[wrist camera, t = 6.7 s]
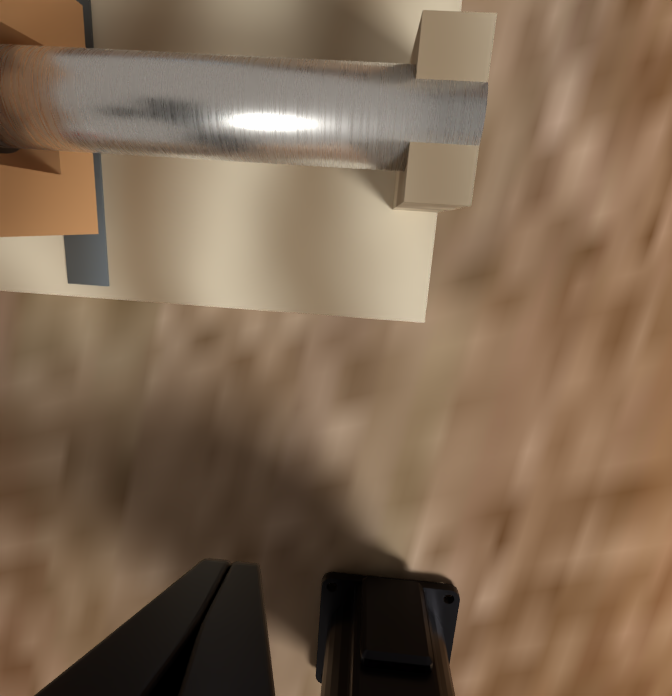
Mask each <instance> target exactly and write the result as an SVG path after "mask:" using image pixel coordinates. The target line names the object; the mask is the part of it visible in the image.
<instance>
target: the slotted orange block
mask: <svg viewBox="0 0 672 696" xmlns="http://www.w3.org/2000/svg"><path fill="white" fill-rule="evenodd" d="M0 44H16V45H37V46H57V47H78V48H86V47H85V33H84V19H83V5H81V4H80V3H79V2H78V1H76V0H0ZM84 234H99V233H98V219H97V205H96V190H95V176H94V162H93V153H87V152H70V151H54V150H37V149H20V150H18V151H16V152H13V153H7V154H5V153H0V237H20V236H52V235H84Z"/></svg>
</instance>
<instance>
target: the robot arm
mask: <svg viewBox="0 0 672 696" xmlns="http://www.w3.org/2000/svg"><path fill="white" fill-rule="evenodd" d="M329 583H335V584H336V585H330V584H329ZM446 595H452V596H450V597H445V596H446ZM459 602H460V598H459V593H458V590H457V588H456V587H455V586H453V585H450V584H443V583H434V582H424V581H414V580H404V579H395V578H385V577H375V576H365V575H355V574H346V573H336V572H330V573H327V574H326V575H325V576H324V577H323V581H322V591H321V606H320V621H319V635H318V650H317V665H316V679H317V681H318V682H320V683H321V684H322V686H321V696H455V693H454V688H453V682H452V677H451V672H450V666H449V663H450V657H451V651H452V645H453V638H454V632H455V626H456V620H457V614H458V608H459ZM34 696H275V689H274V681H273V672H272V664H271V656H270V647H269V639H268V630H267V622H266V613H265V605H264V596H263V588H262V579H261V571H260V566H259V565H258V564H257V563H249V562H239V561H236V562H234V563H231V562H230V561H228V560H220V559H210V558H208V559H204V560H202V561H201V562H200V563H198V564H197V565H196V566H195V567H193V568H192V569H191V570H190V571H188V572H187V573H186V574H185V575H183V576H182V577H181V578H180V579H178V580H177V581H176V582H175V583H173V584H172V585H171V586H170V587H168V588H167V589H166V590H165V591H164V592H162V593H161V594H160V595H159V596H157V597H156V598H155V599H154V600H152V601H151V602H150V603H149V604H147V605H146V606H145V607H144V608H142V609H141V610H140V611H139V612H137V613H136V614H135V615H134V616H132V617H131V618H130V619H129V620H128V621H126V622H125V623H124V624H123V625H121V626H120V627H119V628H118V629H116V630H115V631H114V632H113V633H111V634H110V635H109V636H108V637H106V638H105V639H104V640H103V641H101V642H100V643H99V644H98V645H96V646H95V647H94V648H93V649H92V650H90V651H89V652H88V653H87V654H85V655H84V656H83V657H82V658H80V659H79V660H78V661H77V662H75V663H74V664H73V665H72V666H70V667H69V668H68V669H67V670H65V671H64V672H63V673H62V674H60V675H59V676H58V677H57V678H56V679H54V680H53V681H52V682H51V683H49V684H48V685H47V686H46V687H44V688H43V689H42V690H41V691H39V692H38V693H37V694H36V695H34Z"/></svg>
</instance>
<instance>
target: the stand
mask: <svg viewBox="0 0 672 696" xmlns="http://www.w3.org/2000/svg"><path fill="white" fill-rule="evenodd" d="M76 1H78V2H79V3H80V4H81V5H83V19H84V33H85V47H86V48H98V49H118V50H139V51H159V52H180V53H200V54H221V55H241V56H262V57H282V58H303V59H323V60H343V61H364V62H384V63H405V64H416V79H434V80H454V81H474V82H488V77H489V70H490V62H491V55H492V47H493V40H494V33H495V25H496V18H497V13H483V12H461V6H462V0H76ZM478 151H479V146H477V145H459V144H442V143H424V142H410V145H409V152H408V158H407V163H406V168H405V171H404V172H403V171H386V170H370V169H353V168H337V167H320V166H303V165H287V164H270V163H253V162H237V161H220V160H203V159H187V158H170V157H153V156H137V155H120V154H104V153H93V162H94V176H95V190H96V205H97V219H98V233H99V234H84V235H52V236H20V237H0V291H12V292H25V293H38V294H52V295H65V296H78V297H91V298H104V299H118V300H131V301H144V302H157V303H171V304H184V305H197V306H210V307H224V308H237V309H250V310H263V311H276V312H290V313H303V314H316V315H329V316H343V317H356V318H369V319H382V320H396V321H409V322H422V323H425V314H426V306H427V297H428V289H429V280H430V272H431V263H432V254H433V246H434V237H435V229H436V220H437V212H443V211H448V210H453V209H458V208H464V207H469V206H471V203H472V196H473V189H474V181H475V174H476V166H477V159H478Z"/></svg>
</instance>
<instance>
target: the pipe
mask: <svg viewBox="0 0 672 696" xmlns="http://www.w3.org/2000/svg"><path fill="white" fill-rule="evenodd" d="M487 94H488V82H474V81H454V80H434V79H416V64H405V63H384V62H364V61H343V60H323V59H303V58H282V57H262V56H241V55H221V54H200V53H180V52H159V51H139V50H118V49H98V48H78V47H57V46H37V45H16V44H0V153H5V154H7V153H13V152H16V151H18V150H20V149H37V150H54V151H70V152H87V153H104V154H120V155H137V156H153V157H170V158H187V159H203V160H220V161H237V162H253V163H270V164H287V165H303V166H320V167H337V168H353V169H370V170H386V171H403V172H404V171H405V168H406V163H407V158H408V152H409V145H410V142H424V143H442V144H459V145H477V146H479V145H480V141H481V136H482V131H483V126H484V120H485V113H486V105H487Z"/></svg>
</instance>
